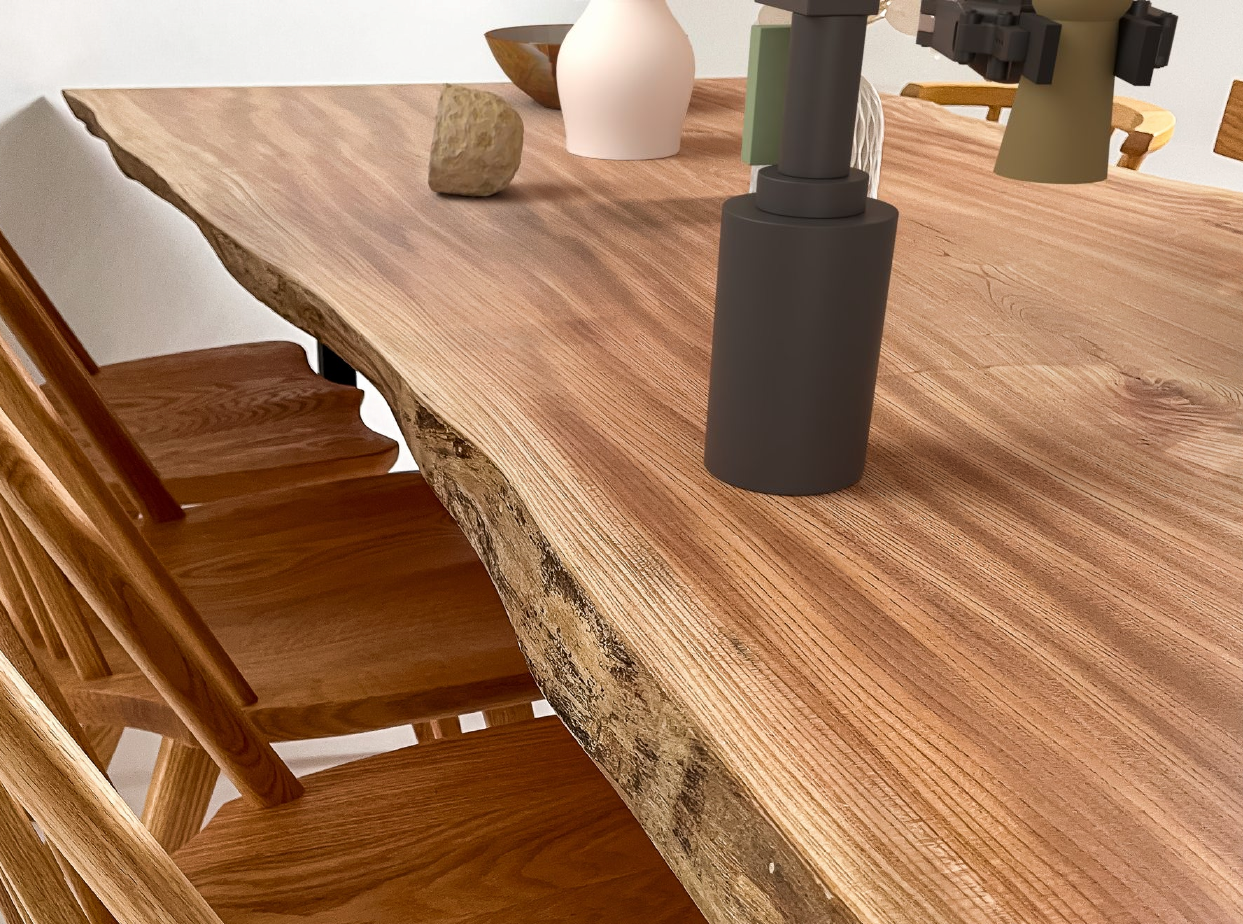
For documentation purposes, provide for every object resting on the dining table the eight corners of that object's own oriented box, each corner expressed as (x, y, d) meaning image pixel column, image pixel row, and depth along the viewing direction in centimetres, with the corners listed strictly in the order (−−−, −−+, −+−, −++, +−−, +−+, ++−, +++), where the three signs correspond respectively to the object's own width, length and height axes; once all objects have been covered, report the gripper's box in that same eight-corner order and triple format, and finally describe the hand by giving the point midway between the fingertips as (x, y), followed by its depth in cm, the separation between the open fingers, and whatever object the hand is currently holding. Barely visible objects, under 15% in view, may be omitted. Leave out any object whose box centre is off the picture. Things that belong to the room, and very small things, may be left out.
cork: (1127, 174, 77) (1176, -54, 71) (1073, 188, 74) (1120, -50, 68) (1027, 159, 81) (1066, -58, 75) (971, 173, 77) (1007, -55, 72)
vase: (537, 142, 152) (538, -69, 142) (658, 135, 156) (668, -70, 146) (582, 165, 141) (587, -62, 130) (712, 157, 145) (727, -64, 134)
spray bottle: (671, 426, 76) (703, -99, 63) (812, 417, 77) (871, -99, 64) (731, 500, 67) (781, -93, 54) (889, 489, 68) (975, -93, 55)
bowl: (451, 111, 171) (449, 38, 167) (530, 86, 191) (530, 20, 186) (646, 124, 163) (650, 49, 158) (708, 97, 182) (713, 28, 178)
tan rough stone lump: (408, 103, 130) (505, 57, 127) (452, 210, 133) (548, 168, 130) (382, 109, 121) (485, 60, 118) (430, 224, 125) (532, 179, 122)
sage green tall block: (740, 160, 69) (750, 24, 66) (794, 159, 69) (807, 24, 66) (749, 165, 68) (760, 27, 64) (804, 164, 68) (818, 26, 65)
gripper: (1135, 79, 90) (1258, 140, 70) (865, 75, 92) (911, 133, 72) (1163, -54, 86) (1301, -29, 66) (880, -56, 88) (933, -33, 68)
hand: (1098, 55), depth 69 cm, fingers closed on cork, 4 cm apart
